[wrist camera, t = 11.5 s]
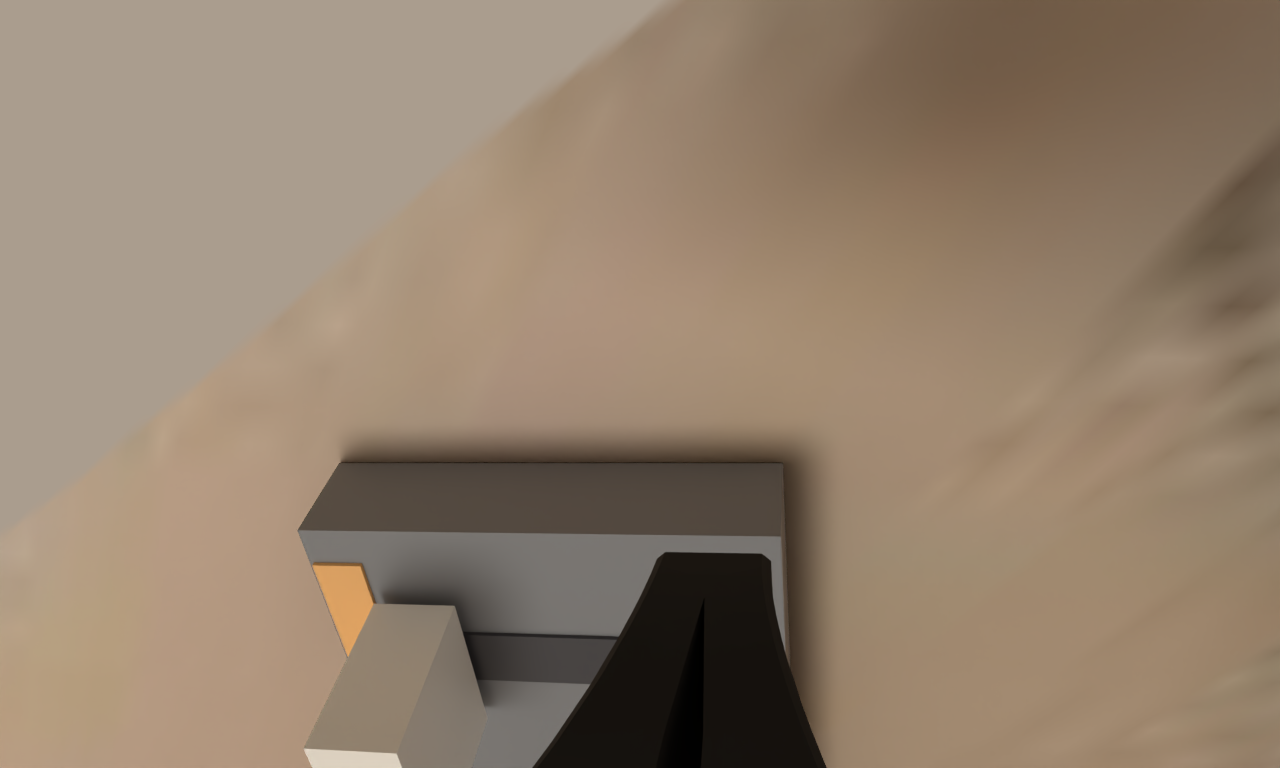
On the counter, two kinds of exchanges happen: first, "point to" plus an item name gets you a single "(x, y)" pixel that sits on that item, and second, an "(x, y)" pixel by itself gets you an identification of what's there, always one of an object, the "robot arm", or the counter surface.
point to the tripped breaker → (402, 696)
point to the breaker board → (532, 564)
